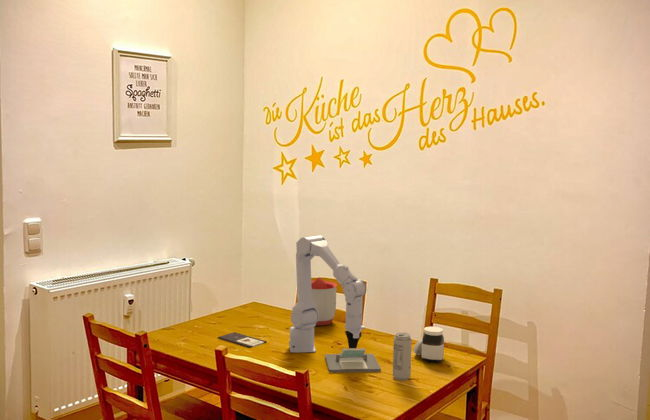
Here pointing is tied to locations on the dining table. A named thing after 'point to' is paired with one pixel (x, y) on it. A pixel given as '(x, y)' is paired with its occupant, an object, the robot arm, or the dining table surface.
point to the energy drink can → (402, 356)
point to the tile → (352, 352)
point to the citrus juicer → (324, 300)
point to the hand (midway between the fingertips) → (352, 351)
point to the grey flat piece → (352, 363)
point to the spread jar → (431, 345)
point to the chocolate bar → (242, 339)
